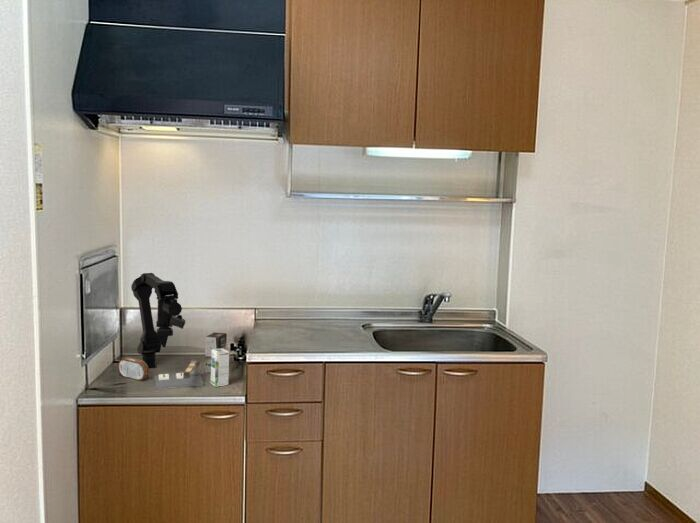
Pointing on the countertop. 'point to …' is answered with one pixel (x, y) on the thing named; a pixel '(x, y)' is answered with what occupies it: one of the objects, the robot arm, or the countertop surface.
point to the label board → (178, 380)
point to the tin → (133, 368)
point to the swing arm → (191, 368)
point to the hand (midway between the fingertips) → (164, 347)
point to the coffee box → (213, 347)
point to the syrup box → (219, 367)
